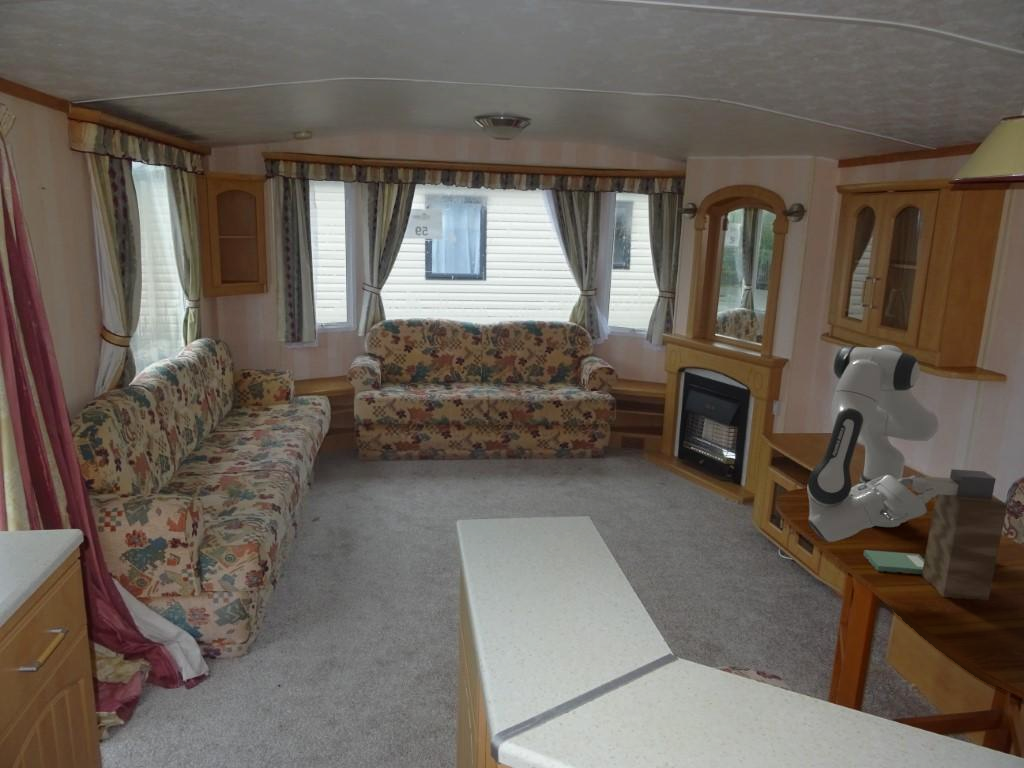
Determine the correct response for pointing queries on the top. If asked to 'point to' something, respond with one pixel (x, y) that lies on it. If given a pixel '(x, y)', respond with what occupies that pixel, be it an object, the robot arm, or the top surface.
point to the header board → (895, 561)
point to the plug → (958, 484)
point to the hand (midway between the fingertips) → (926, 484)
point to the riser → (963, 545)
